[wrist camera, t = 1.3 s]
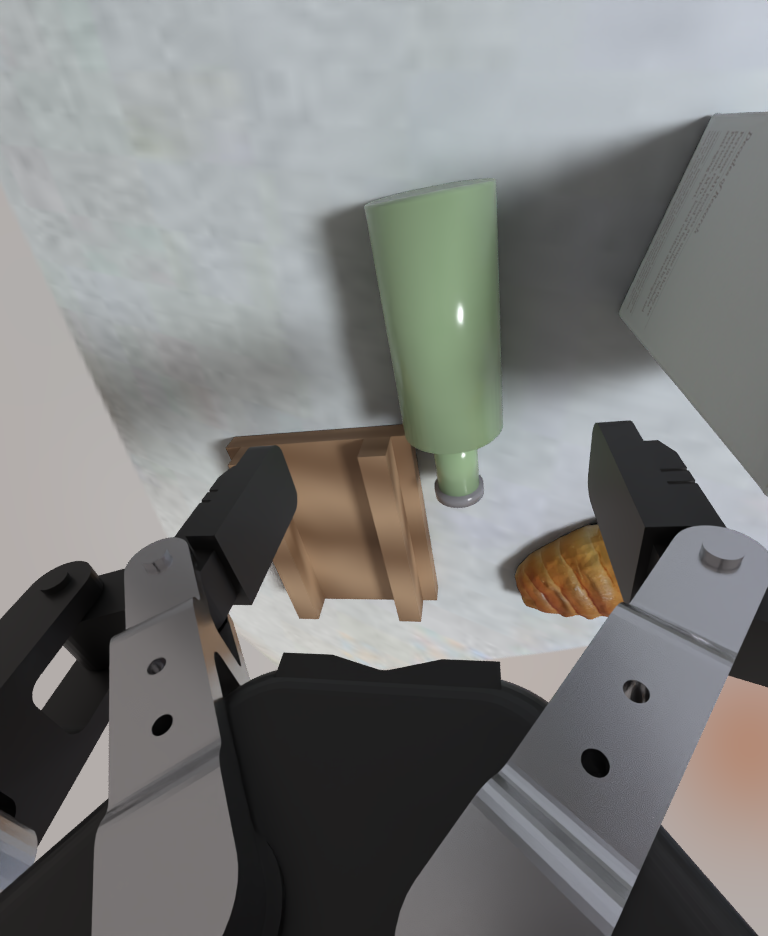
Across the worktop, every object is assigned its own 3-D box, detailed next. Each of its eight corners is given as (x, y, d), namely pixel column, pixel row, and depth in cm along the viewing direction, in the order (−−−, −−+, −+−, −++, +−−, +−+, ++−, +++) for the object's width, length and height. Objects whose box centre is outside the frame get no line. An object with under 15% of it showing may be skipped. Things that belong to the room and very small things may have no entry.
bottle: (376, 196, 19) (351, 214, 15) (494, 173, 18) (498, 186, 14) (420, 467, 27) (411, 523, 23) (503, 464, 26) (507, 521, 22)
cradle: (234, 437, 27) (212, 466, 25) (411, 423, 25) (404, 454, 23) (299, 585, 36) (286, 618, 33) (437, 586, 33) (435, 622, 31)
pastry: (537, 605, 33) (544, 653, 30) (496, 546, 30) (498, 592, 27) (678, 570, 29) (702, 621, 26) (646, 498, 26) (668, 546, 23)
